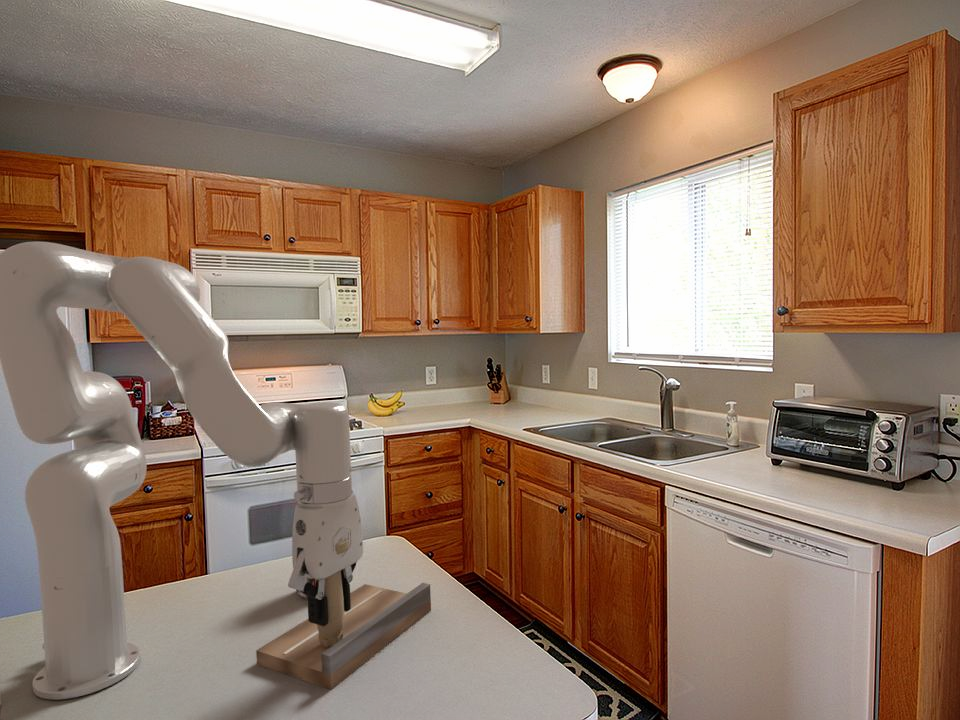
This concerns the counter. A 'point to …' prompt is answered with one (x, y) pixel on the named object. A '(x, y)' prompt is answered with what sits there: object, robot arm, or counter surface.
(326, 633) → the handle
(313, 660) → the board
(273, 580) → the counter surface
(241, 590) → the counter surface
